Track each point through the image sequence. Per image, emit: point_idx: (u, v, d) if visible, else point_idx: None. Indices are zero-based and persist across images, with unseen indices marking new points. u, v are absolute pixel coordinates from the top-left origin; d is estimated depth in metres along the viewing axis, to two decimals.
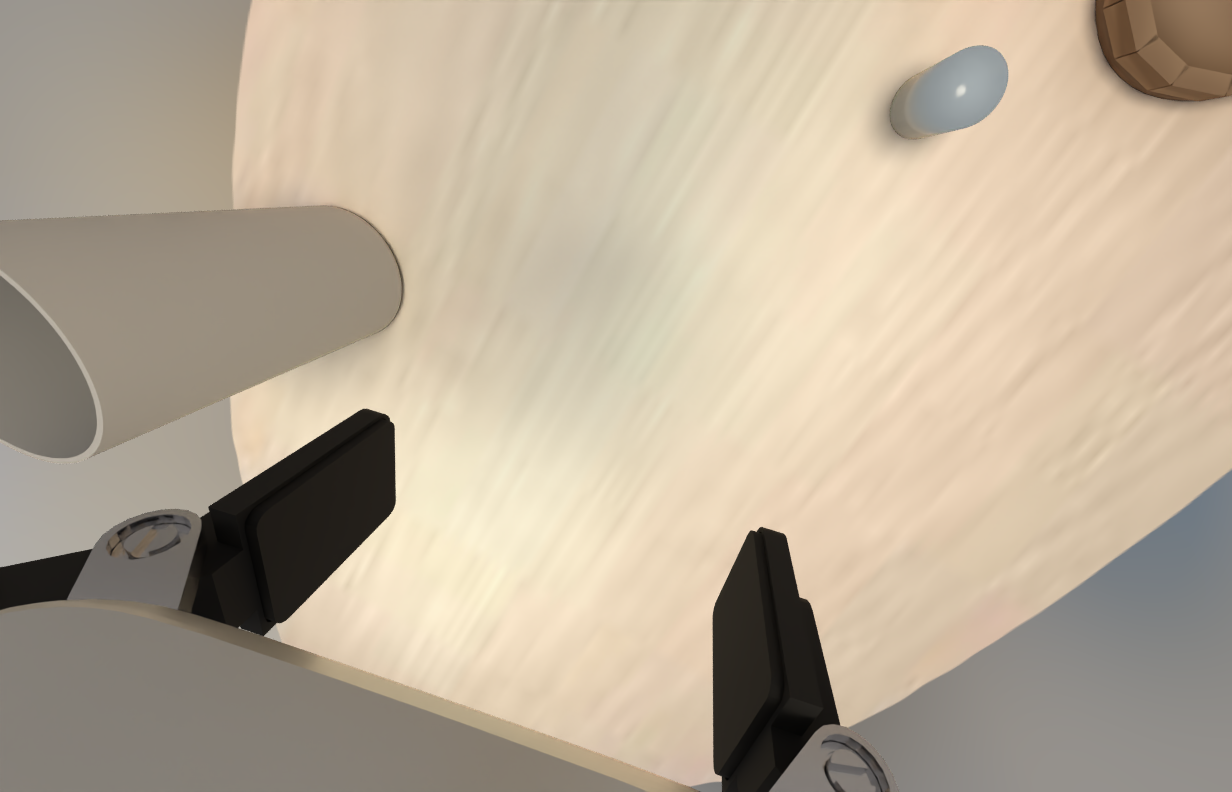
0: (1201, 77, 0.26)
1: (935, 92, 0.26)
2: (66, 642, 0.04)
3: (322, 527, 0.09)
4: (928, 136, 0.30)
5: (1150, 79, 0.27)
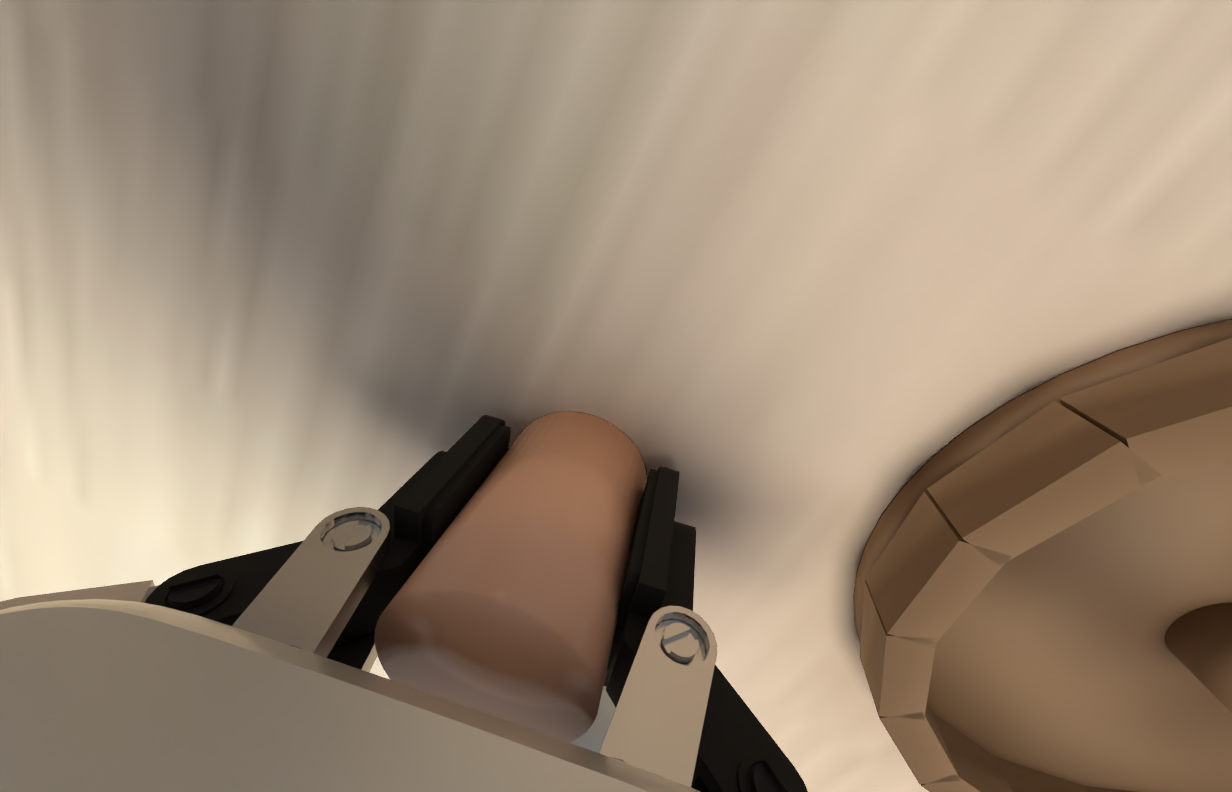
0: None
1: None
2: (67, 643, 0.04)
3: None
4: None
5: None
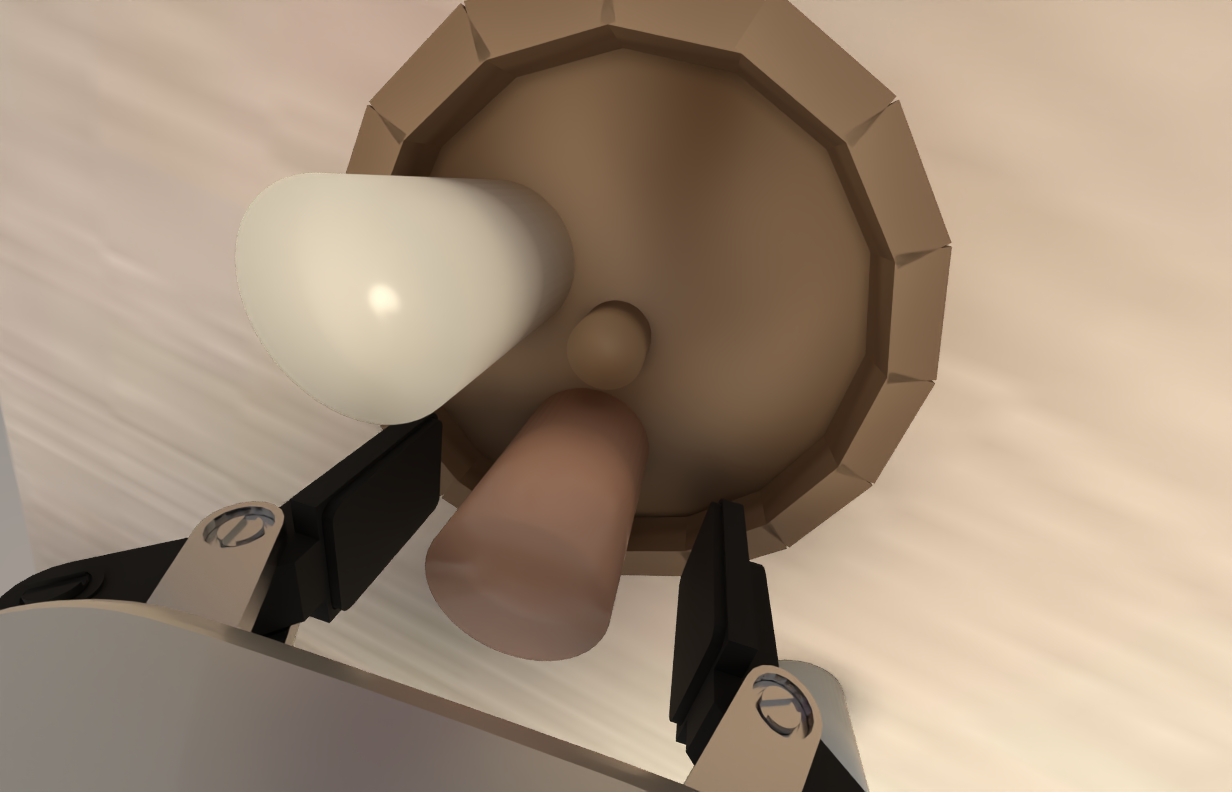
0: (871, 438, 0.11)
1: None
2: (66, 643, 0.04)
3: (382, 520, 0.10)
4: None
5: None
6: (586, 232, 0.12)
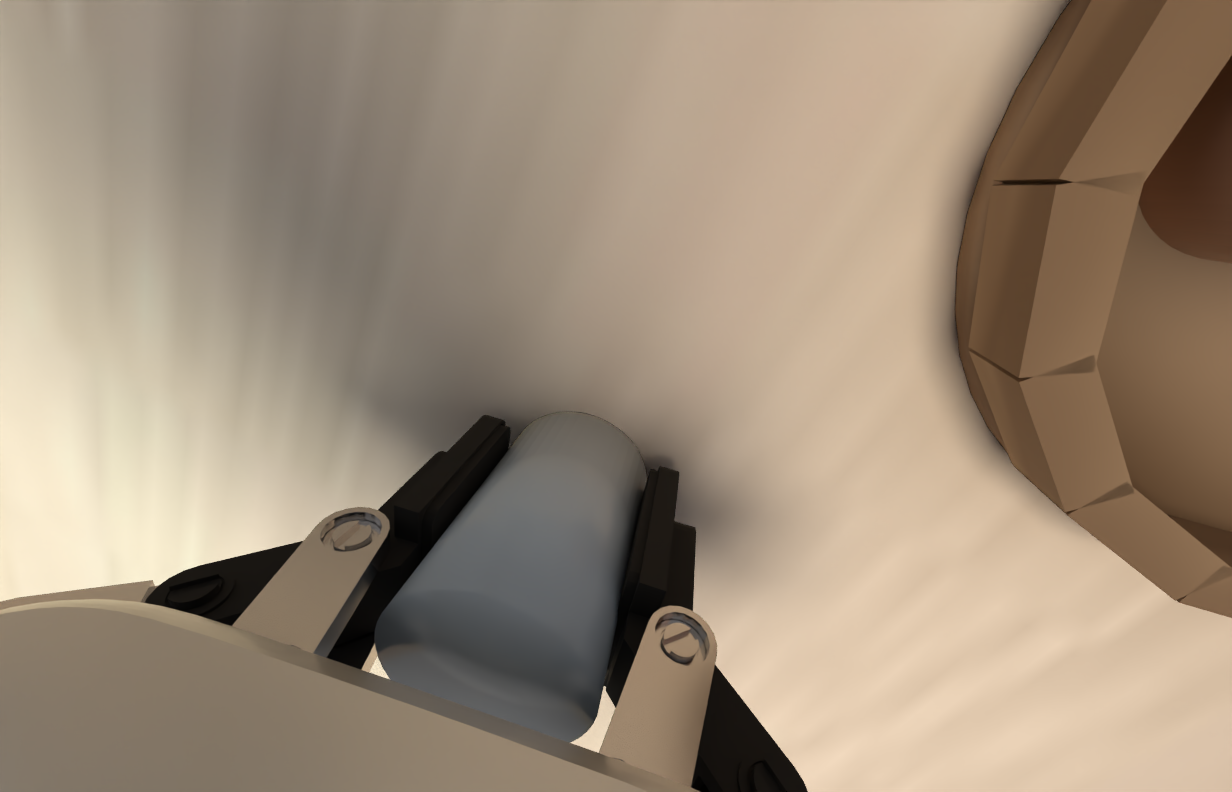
0: None
1: (399, 664, 0.08)
2: (67, 642, 0.04)
3: None
4: None
5: None
6: None
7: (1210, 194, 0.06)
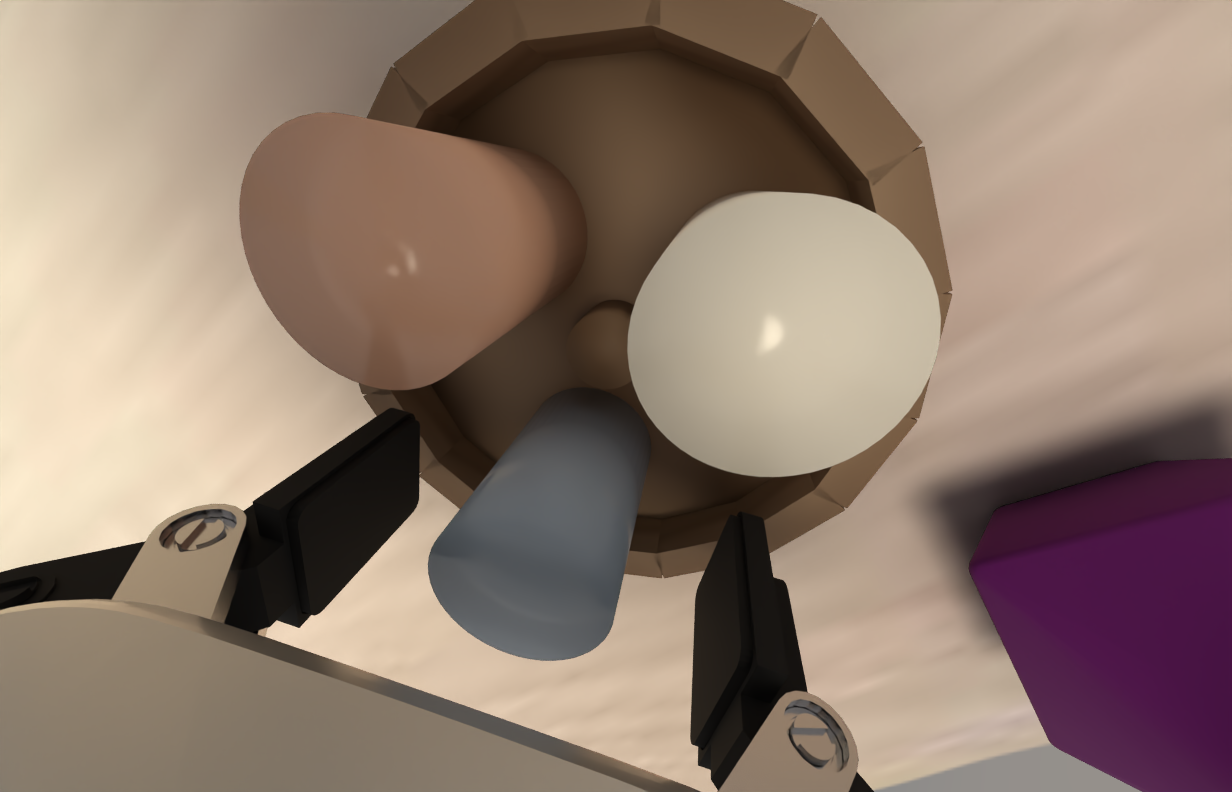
0: (457, 488, 0.14)
1: (447, 586, 0.09)
2: (67, 643, 0.04)
3: (354, 522, 0.10)
4: None
5: None
6: None
7: None
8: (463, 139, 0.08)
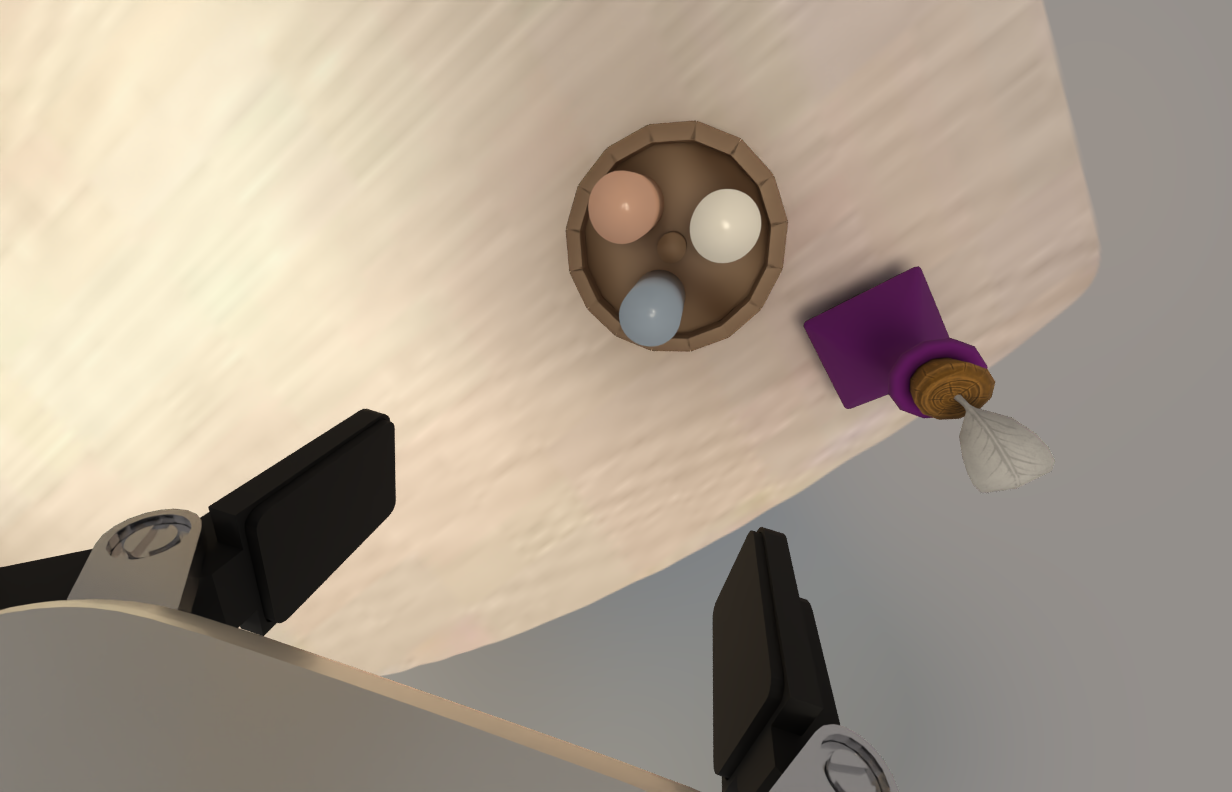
0: (604, 314, 0.34)
1: (625, 317, 0.29)
2: (67, 643, 0.04)
3: (322, 527, 0.09)
4: None
5: None
6: None
7: None
8: (638, 173, 0.28)
